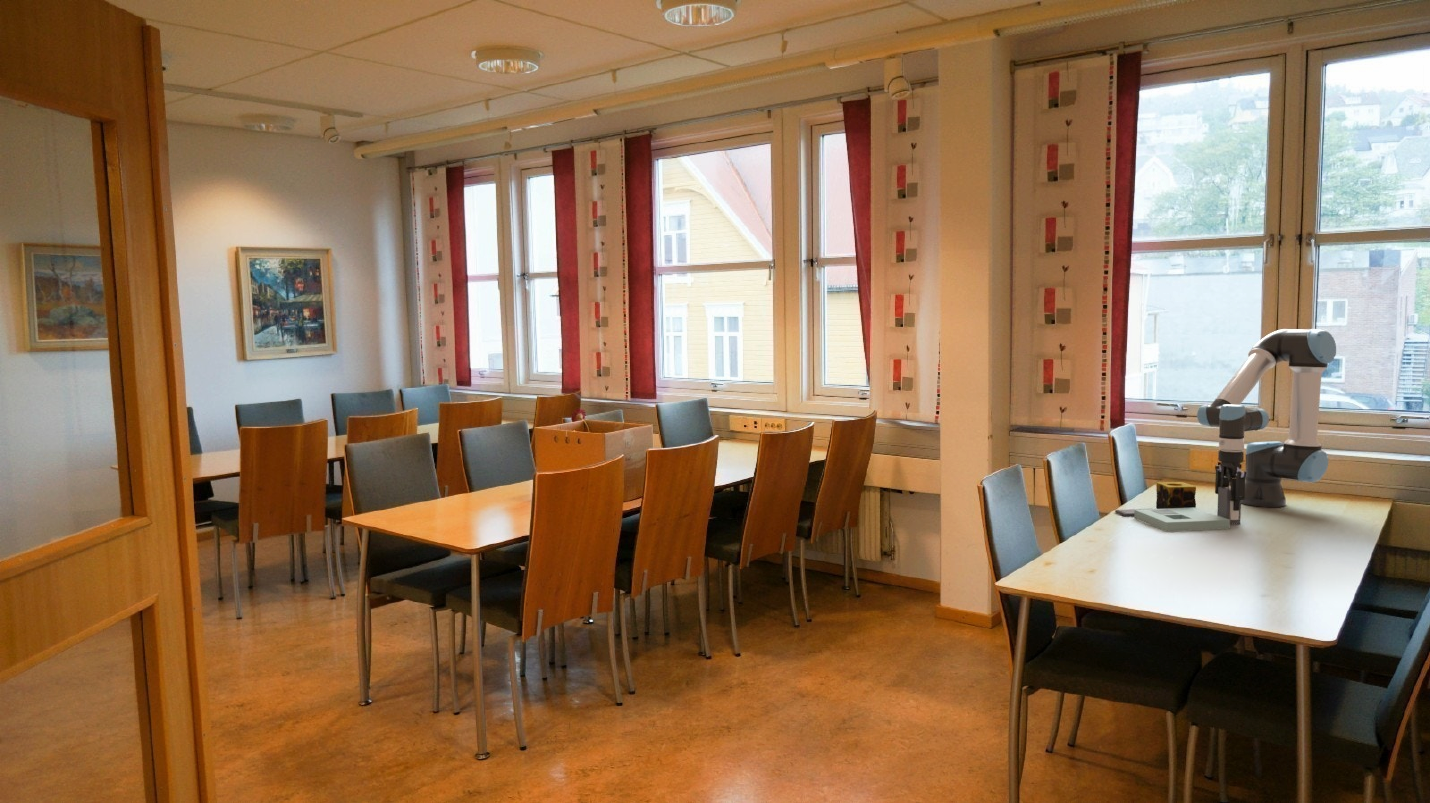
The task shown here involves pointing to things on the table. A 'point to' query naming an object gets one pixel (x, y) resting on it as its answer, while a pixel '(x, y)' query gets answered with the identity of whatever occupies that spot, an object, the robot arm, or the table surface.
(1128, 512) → the phone
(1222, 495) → the grey rectangular block
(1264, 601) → the table surface
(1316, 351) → the robot arm
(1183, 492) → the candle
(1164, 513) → the outlet board
